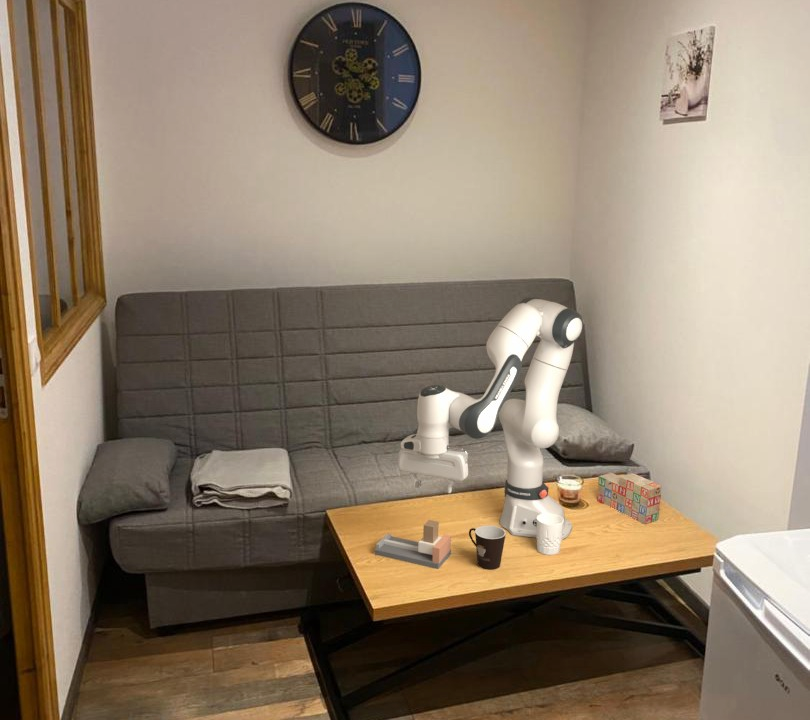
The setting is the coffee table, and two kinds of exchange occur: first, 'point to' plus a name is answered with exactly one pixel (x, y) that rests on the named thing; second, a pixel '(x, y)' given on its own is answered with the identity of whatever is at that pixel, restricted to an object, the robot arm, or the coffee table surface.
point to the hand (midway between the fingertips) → (432, 489)
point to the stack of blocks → (631, 496)
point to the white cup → (549, 533)
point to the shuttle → (429, 537)
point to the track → (414, 551)
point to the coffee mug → (489, 546)
